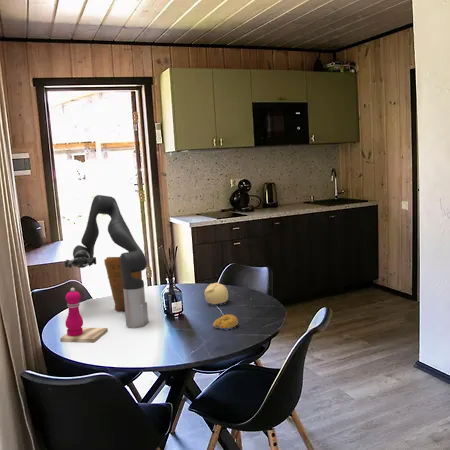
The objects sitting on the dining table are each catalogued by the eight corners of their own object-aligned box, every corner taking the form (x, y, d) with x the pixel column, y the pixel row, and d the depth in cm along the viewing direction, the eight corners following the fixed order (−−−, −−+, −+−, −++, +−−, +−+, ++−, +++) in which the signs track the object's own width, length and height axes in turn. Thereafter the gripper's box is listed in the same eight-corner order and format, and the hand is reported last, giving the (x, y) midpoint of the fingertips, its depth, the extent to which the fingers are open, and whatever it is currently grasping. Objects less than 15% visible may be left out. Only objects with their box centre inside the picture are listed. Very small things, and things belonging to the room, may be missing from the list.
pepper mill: (78, 337, 198) (76, 290, 195) (62, 335, 199) (60, 289, 196) (86, 330, 205) (84, 285, 202) (71, 329, 206) (69, 284, 203)
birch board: (107, 331, 208) (107, 328, 208) (94, 342, 195) (93, 338, 195) (76, 330, 211) (75, 327, 211) (60, 341, 198) (60, 338, 198)
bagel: (212, 323, 211) (212, 313, 211) (237, 322, 211) (237, 312, 211) (212, 331, 201) (212, 321, 201) (238, 330, 201) (238, 320, 201)
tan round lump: (207, 300, 248) (206, 280, 246) (230, 300, 246) (228, 280, 245) (203, 307, 236) (201, 286, 235) (227, 307, 235) (225, 285, 233)
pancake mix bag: (142, 314, 230) (138, 257, 226) (107, 312, 236) (102, 256, 232) (148, 310, 236) (144, 254, 233) (114, 308, 242) (110, 254, 239)
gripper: (66, 252, 233) (63, 258, 217) (96, 250, 236) (95, 255, 220) (67, 267, 234) (64, 274, 218) (97, 264, 237) (96, 271, 221)
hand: (80, 264), depth 219 cm, fingers open, 8 cm apart
